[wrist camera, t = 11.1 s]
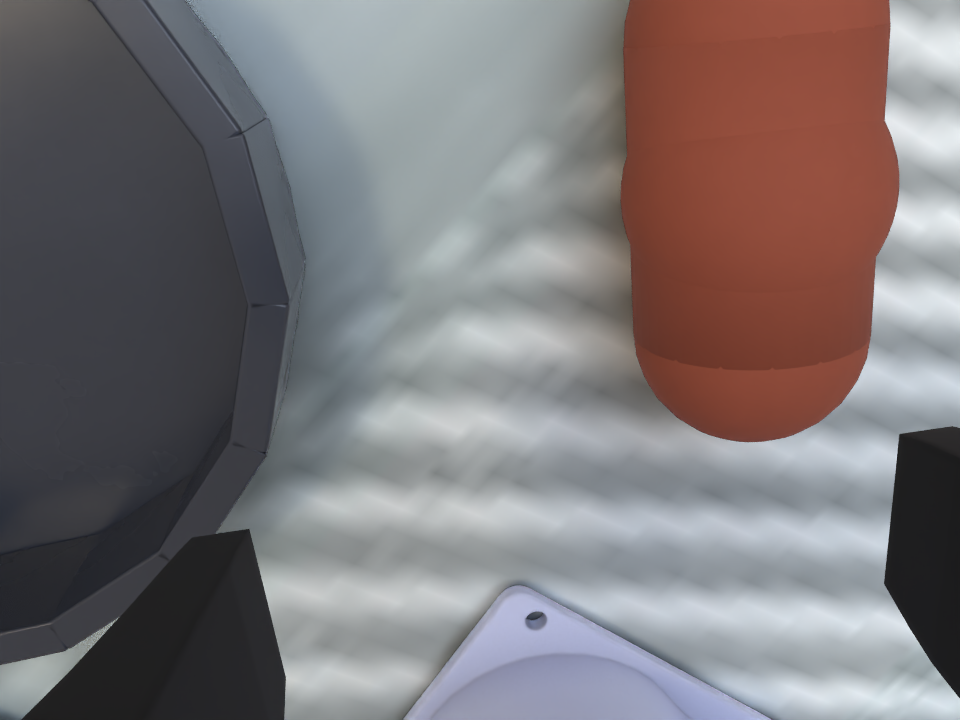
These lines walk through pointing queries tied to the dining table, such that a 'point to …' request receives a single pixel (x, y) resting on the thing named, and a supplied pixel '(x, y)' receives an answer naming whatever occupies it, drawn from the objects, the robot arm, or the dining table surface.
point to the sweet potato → (755, 204)
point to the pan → (129, 304)
